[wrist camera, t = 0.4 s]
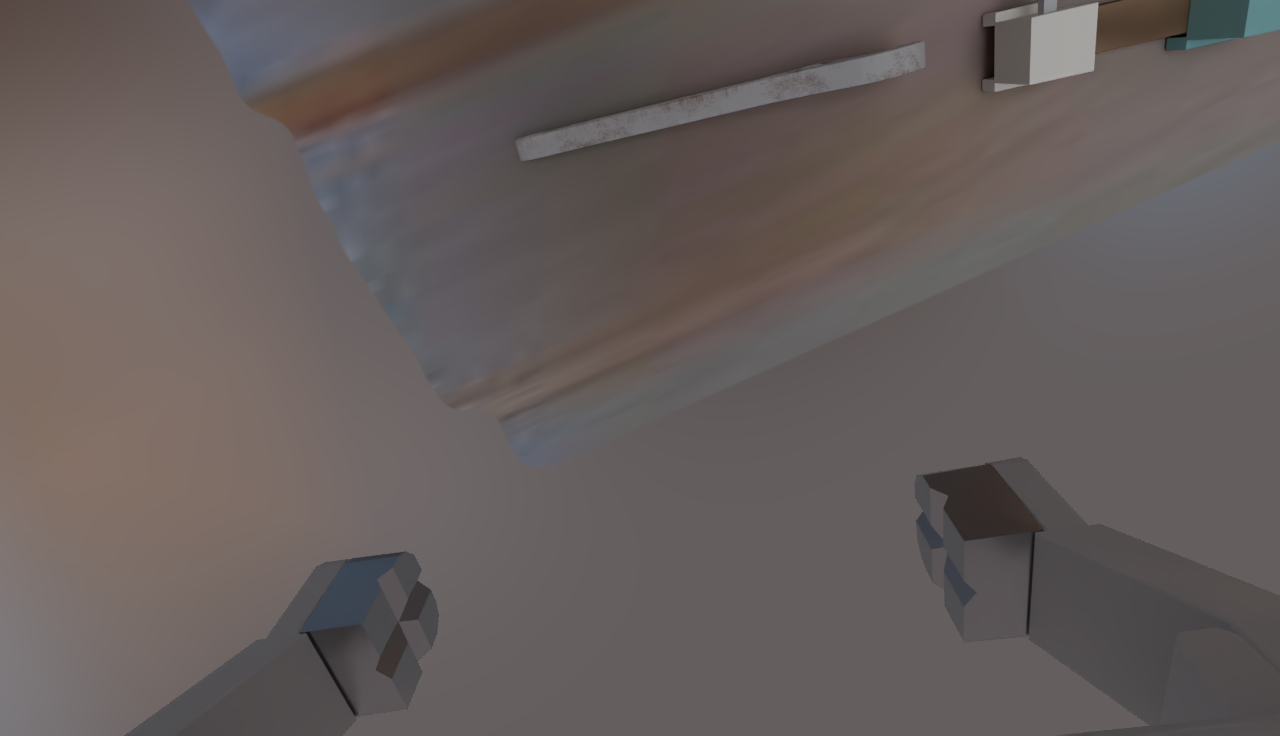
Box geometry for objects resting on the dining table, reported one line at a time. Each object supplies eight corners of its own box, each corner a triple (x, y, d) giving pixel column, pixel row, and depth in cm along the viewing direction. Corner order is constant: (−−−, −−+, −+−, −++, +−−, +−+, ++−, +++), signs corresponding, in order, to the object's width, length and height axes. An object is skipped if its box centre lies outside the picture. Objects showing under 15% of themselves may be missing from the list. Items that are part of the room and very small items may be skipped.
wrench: (529, 131, 54) (905, 38, 47) (536, 154, 55) (906, 65, 48) (497, 145, 47) (933, 38, 40) (505, 170, 48) (934, 70, 41)
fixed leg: (983, -62, 45) (1034, -83, 39) (1043, -77, 44) (1105, -100, 38) (982, 91, 49) (1029, 94, 43) (1037, 78, 48) (1092, 80, 42)
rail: (995, 28, 47) (1008, 26, 46) (1349, -54, 45) (1378, -59, 43) (995, 72, 49) (1007, 72, 47) (1339, -6, 46) (1367, -9, 44)
